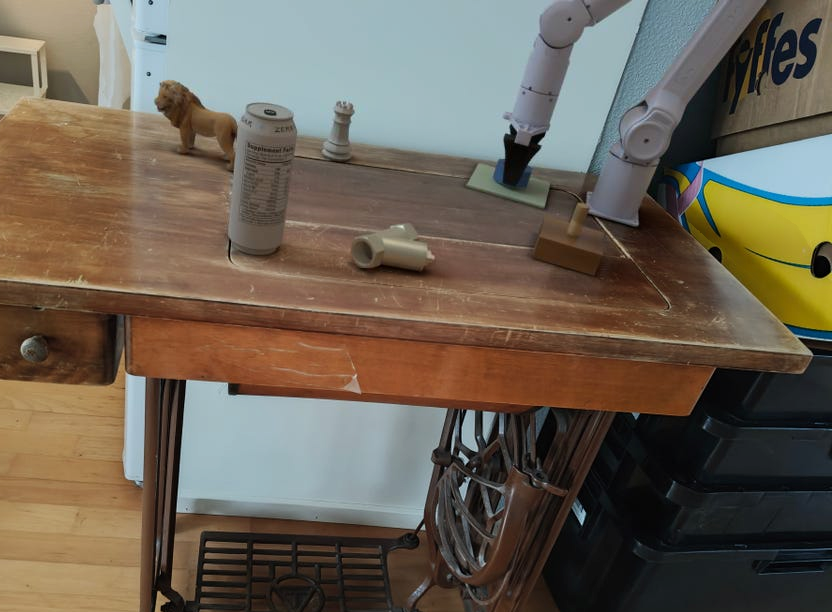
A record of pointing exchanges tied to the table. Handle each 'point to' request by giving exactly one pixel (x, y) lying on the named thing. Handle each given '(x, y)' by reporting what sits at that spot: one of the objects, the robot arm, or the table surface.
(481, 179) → the mat
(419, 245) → the pipe fitting
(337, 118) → the rook chess piece
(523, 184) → the ring
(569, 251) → the dowel stand
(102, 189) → the table surface
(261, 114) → the energy drink can
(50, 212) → the table surface
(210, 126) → the lion figurine
